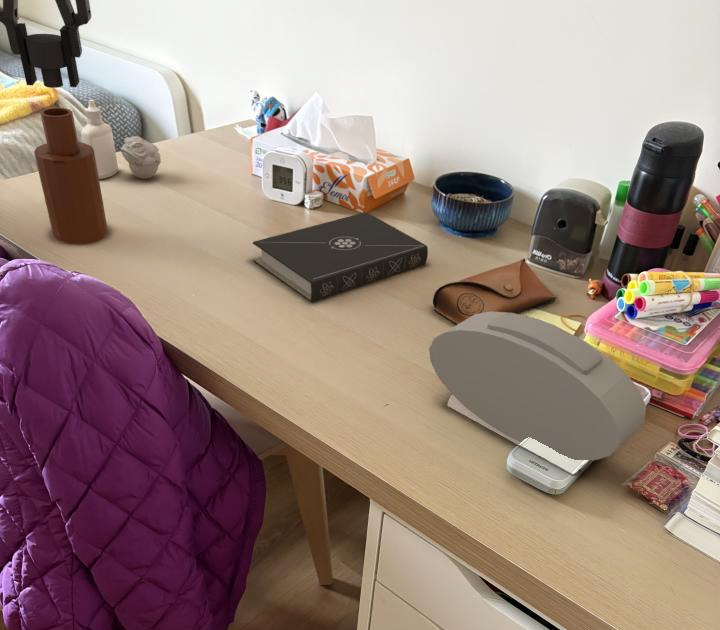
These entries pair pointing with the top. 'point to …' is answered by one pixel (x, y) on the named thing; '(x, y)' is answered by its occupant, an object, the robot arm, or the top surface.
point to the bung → (47, 57)
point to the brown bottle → (70, 181)
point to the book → (339, 255)
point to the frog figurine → (141, 156)
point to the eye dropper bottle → (100, 142)
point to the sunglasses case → (492, 293)
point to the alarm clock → (537, 384)
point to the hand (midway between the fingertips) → (53, 83)
